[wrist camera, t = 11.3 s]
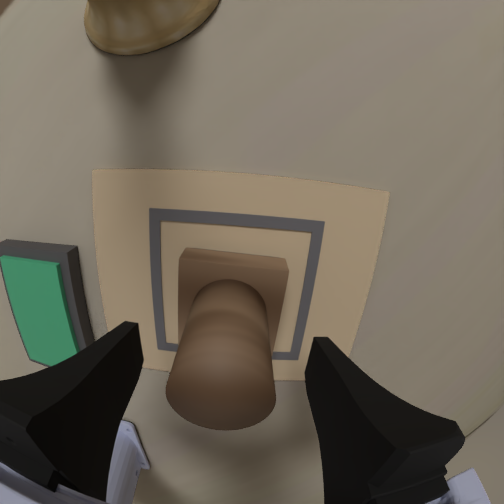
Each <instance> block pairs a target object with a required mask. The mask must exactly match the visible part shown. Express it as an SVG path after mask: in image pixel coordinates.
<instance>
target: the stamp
mask: <svg viewBox="0 0 504 504" xmlns="http://www.w3.org/2000/svg"><path fill="white" fill-rule="evenodd" d="M288 276H289V268H288V265H287V262H286V259H285V258H279V257H271V256H262V255H253V254H244V253H235V252H226V251H217V250H208V249H199V248H187V247H186V248H185V249H184V251H183V253H182V254H181V256H180V258H179V267H178V349H177V352H176V355H175V359H174V362H173V365H172V368H171V372H170V375H169V378H168V381H167V385H166V397H167V400H168V402H169V404H170V405H171V407H172V408H173V409H174V410H175V411H176V412H177V413H178V414H179V415H180V416H181V417H183V418H184V419H186V420H187V421H189V422H191V423H193V424H196V425H198V426H202V427H205V428H209V429H215V430H238V429H243V428H247V427H250V426H253V425H255V424H257V423H259V422H261V421H262V420H264V419H265V418H266V417H268V415H269V414H270V413H271V412H272V410H273V409H274V406H275V402H276V394H275V384H274V375H273V366H272V355H273V350H274V345H275V341H276V336H277V331H278V326H279V322H280V317H281V312H282V307H283V302H284V297H285V292H286V286H287V281H288Z"/></svg>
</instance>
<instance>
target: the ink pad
mask: <svg viewBox="0 0 504 504" xmlns="http://www.w3.org/2000/svg"><path fill="white" fill-rule="evenodd" d="M0 267H1V272H2V276H3V280H4V284H5V288H6V292H7V296H8V300H9V303H10V306H11V310H12V313H13V316H14V319H15V322H16V325H17V328H18V331H19V334H20V337H21V339H22V342H23V345H24V347H25V350H26V352H27V355H28V357H29V360H31V361H33V362H36V363H39V364H42V365H44V366H47V367H51V366H53V365H56V364H58V363H60V362H62V361H64V360H66V359H68V358H69V357H71V356H73V355H75V354H76V353H78V352H80V351H81V350H83V349H84V348H86V347H88V346H89V345H91V344H92V343H94V338H93V334H92V330H91V326H90V321H89V317H88V312H87V307H86V302H85V297H84V291H83V285H82V279H81V272H80V265H79V258H78V249H77V246H72V245H61V244H50V243H40V242H29V241H18V240H8V239H6V240H4V241H2V242H1V243H0Z"/></svg>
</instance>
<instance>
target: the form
mask: <svg viewBox="0 0 504 504" xmlns="http://www.w3.org/2000/svg"><path fill="white" fill-rule="evenodd" d="M92 193H93V220H94V235H95V247H96V257H97V266H98V274H99V282H100V289H101V295H102V301H103V307H104V313H105V318H106V324H107V329H108V332H110V331H111V330H112V329H114V328H115V327H117V326H118V325H120V324H121V323H123V322H124V321H129V322H136V323H138V324H139V332H140V338H141V345H142V351H143V357H144V362H143V366H142V367H143V368H149V369H155V370H162V371H169V372H171V368H172V365H173V362H174V359H175V355H176V352H177V349H178V267H179V258H180V256H181V254H182V253H183V251H184V249H185V248H186V247H187V248H199V249H208V250H217V251H226V252H235V253H244V254H253V255H262V256H271V257H279V258H285V259H286V262H287V265H288V268H289V276H288V281H287V286H286V292H285V297H284V302H283V307H282V312H281V317H280V322H279V326H278V331H277V336H276V341H275V345H274V350H273V355H272V366H273V375H274V380H291V381H302V380H305V374H304V372H305V369H306V365H307V361H308V357H309V353H310V349H311V345H312V341H313V337H329V338H330V339H331V340H332V341H333V342H334V343H335V344H336V345H337V346H338V348H339V349H340V350H341V351H342V352H343V353H344V354H345V355H346V356H347V357H349V354H350V351H351V349H352V346H353V343H354V340H355V336H356V333H357V330H358V327H359V324H360V321H361V317H362V314H363V310H364V307H365V304H366V300H367V296H368V293H369V289H370V285H371V281H372V277H373V273H374V269H375V265H376V261H377V257H378V252H379V248H380V243H381V238H382V233H383V228H384V223H385V218H386V212H387V207H388V201H389V195H390V192H386V191H380V190H375V189H369V188H363V187H356V186H350V185H343V184H336V183H329V182H322V181H314V180H306V179H298V178H289V177H279V176H269V175H258V174H246V173H233V172H218V171H199V170H172V169H99V170H92Z"/></svg>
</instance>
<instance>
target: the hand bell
mask: <svg viewBox="0 0 504 504" xmlns="http://www.w3.org/2000/svg"><path fill="white" fill-rule="evenodd" d="M218 2H219V0H88V2H87V5H86V9H85V14H84V25H85V29H86V33H87V35H88V37H89V39H90V41H91V42H92V43H93V44H94V45H95V46H96V47H97V48H99V49H101V50H103V51H105V52H108V53H112V54H117V55H134V54H143V53H148V52H151V51H154V50H157V49H160V48H162V47H165V46H167V45H169V44H172V43H174V42H176V41H178V40H180V39H181V38H183V37H184V36H186V35H188V34H189V33H190V32H192V31H193V30H195V29H196V28H197V27H198V26H199V25H201V24H202V23H203V22H204V21H205V20H206V19H207V18H208V17H209V15H210V14H211V13H212V11H213V10H214V9H215V8H216V6H217V4H218Z"/></svg>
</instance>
